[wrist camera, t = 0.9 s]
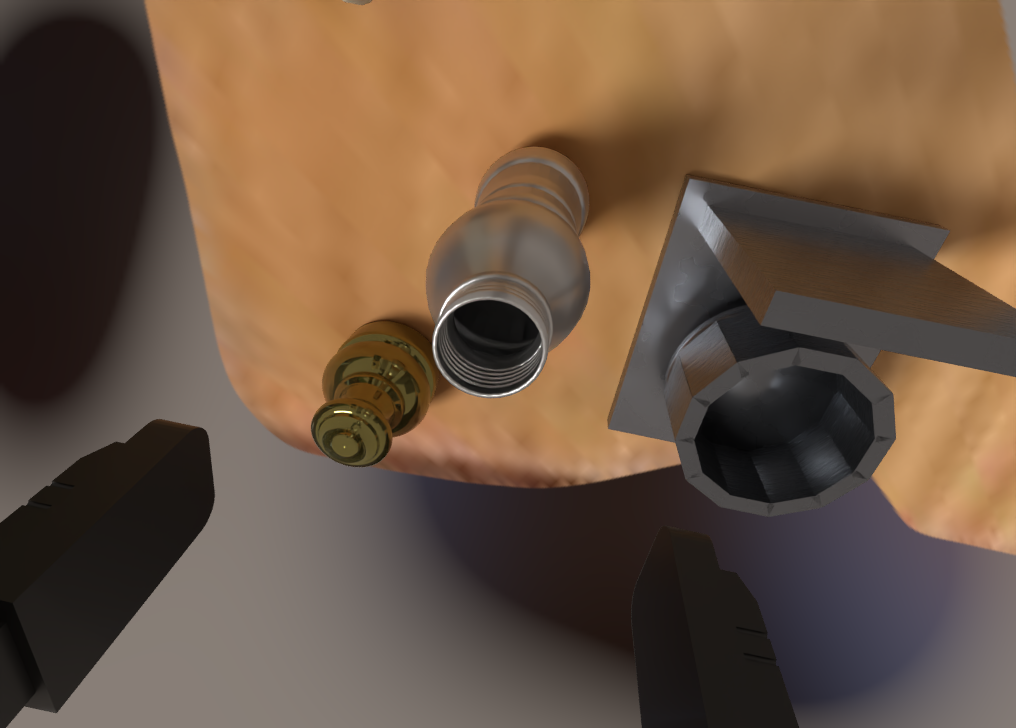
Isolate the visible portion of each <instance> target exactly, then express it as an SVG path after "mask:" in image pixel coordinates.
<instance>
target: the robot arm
mask: <svg viewBox="0 0 1016 728" xmlns="http://www.w3.org/2000/svg"><path fill="white" fill-rule="evenodd" d="M213 483H214V482H213V473H212V464H211V456H210V447H209V438H208V435H207V432H206V431H205V430H204V429H203V428H200V427H195V426H190V425H186V424H181V423H176V422H172V421H167V420H162V419H156V420H153V421H151V422H150V423H148V424H147V425H146V426H145V427H143V428H142V429H141V430H140V431H139V432H137V433H136V434H135V435H134V436H133V437H132V438H130V439H129V440H128V441H127V442H126V443H120V442H114V443H112V444H110V445H108V446H106V447H104V448H102V449H99V450H97V451H95V452H93V453H91V454H89V455H87V456H84V457H82V458H80V459H79V460H78V461H76V462H75V463H74V464H73V465H72V466H70V467H69V468H68V469H67V470H65V471H64V472H63V473H62V474H60V475H59V476H58V477H57V478H55V479H54V480H53V481H52V484H51V486H46V487H44V488H43V489H42V490H40V491H39V492H38V493H37V494H36V495H34V496H33V497H32V498H31V499H30V500H29V502H28V504H27V505H26V506H24V505H22V506H21V507H19V508H18V509H17V510H16V511H14V512H13V513H12V514H11V515H10V516H8V517H7V518H6V519H5V520H3V521H2V522H1V523H0V728H6V727H7V726H8V724H9V723H10V722H11V721H12V720H13V719H14V718H15V716H16V715H17V714H18V713H19V712H20V710H21V709H22V708H23V707H24V706H26V707H30V708H35V709H39V710H44V711H49V712H53V713H57V712H58V711H59V710H60V708H61V707H62V706H63V704H64V703H65V702H66V701H67V699H68V698H69V697H70V696H71V694H72V693H73V692H74V691H75V689H76V688H77V687H78V685H79V684H80V683H81V682H82V680H83V679H84V678H85V677H86V675H87V674H88V673H89V672H90V671H91V669H92V668H93V667H94V665H95V664H96V663H97V662H98V660H99V659H100V658H101V657H102V655H103V654H104V653H105V652H106V650H107V649H108V648H109V647H110V645H111V644H112V643H113V642H114V640H115V639H116V638H117V636H118V635H119V634H120V633H121V631H122V630H123V629H124V628H125V626H126V625H127V624H128V622H129V621H130V620H131V619H132V618H133V616H134V615H135V614H136V612H137V611H138V610H139V609H140V608H141V606H142V605H143V604H144V602H145V601H146V600H147V599H148V597H149V596H150V595H151V594H152V592H153V591H154V590H155V589H156V587H157V586H158V585H159V584H160V582H161V581H162V580H163V578H164V577H165V576H166V575H167V573H168V572H169V571H170V570H171V568H172V567H173V566H174V565H175V563H176V562H177V561H178V560H179V558H180V557H181V556H182V555H183V553H184V552H185V551H186V550H187V548H188V547H189V546H190V544H191V543H192V542H193V541H194V539H195V538H196V537H197V536H198V534H199V533H200V532H201V531H202V529H203V528H204V526H205V525H206V523H207V521H208V519H209V517H210V514H211V512H212V509H213V504H214V498H215V492H214V484H213ZM631 609H632V611H631V620H632V632H633V642H634V652H635V663H636V672H637V681H638V682H637V683H638V693H639V703H640V714H641V724H642V728H799V726H798V723H797V720H796V717H795V714H794V711H793V708H792V705H791V702H790V699H789V696H788V693H787V690H786V687H785V684H784V681H783V678H782V675H781V672H780V669H779V666H776V657H775V654H774V651H773V648H772V645H771V642H770V639H767V630H766V627H765V624H764V621H763V618H762V615H761V612H760V609H759V606H758V603H757V601H756V599H755V598H754V597H753V596H752V594H751V593H750V591H749V590H748V588H747V587H746V586H745V584H744V583H743V582H742V580H741V579H740V577H739V576H738V575H737V573H734V572H730V571H725V570H720V568H719V565H718V561H717V557H716V554H715V551H714V547H713V543H712V541H711V539H710V537H709V536H708V535H706V534H702V533H697V532H693V531H688V530H683V529H678V528H673V527H669V526H662V527H661V528H660V530H659V531H658V533H657V535H656V538H655V540H654V542H653V545H652V547H651V550H650V552H649V554H648V557H647V559H646V561H645V564H644V566H643V569H642V571H641V573H640V575H639V578H638V580H637V583H636V585H635V589H634V593H633V599H632V608H631Z"/></svg>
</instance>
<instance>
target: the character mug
mask: <svg viewBox="0 0 1016 728" xmlns="http://www.w3.org/2000/svg"><path fill="white" fill-rule="evenodd" d="M343 1H344V2H347V3H353V4H358V5H364V4H367V3H370V2H371V1H372V0H343Z"/></svg>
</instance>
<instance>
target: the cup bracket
mask: <svg viewBox="0 0 1016 728" xmlns="http://www.w3.org/2000/svg"><path fill="white" fill-rule="evenodd" d="M949 232H950V230H948V229H946V228H944V227H942V226H940V225H937V224H932V223H927V222H922V221H917V220H912V219H907V218H902V217H897V216H892V215H887V214H882V213H877V212H872V211H867V210H862V209H857V208H852V207H847V206H842V205H837V204H832V203H827V202H822V201H817V200H812V199H807V198H802V197H797V196H792V195H787V194H782V193H777V192H772V191H767V190H762V189H757V188H752V187H747V186H742V185H737V184H732V183H727V182H722V181H717V180H712V179H707V178H702V177H697V176H692V175H687V174H686V176H685V180H684V183H683V186H682V189H681V192H680V195H679V198H678V201H677V204H676V208H675V211H674V214H673V217H672V220H671V223H670V226H669V229H668V232H667V236H666V239H665V242H664V245H663V248H662V251H661V254H660V257H659V260H658V263H657V267H656V270H655V273H654V276H653V279H652V282H651V285H650V288H649V291H648V295H647V298H646V301H645V304H644V307H643V310H642V313H641V316H640V319H639V323H638V326H637V329H636V332H635V335H634V338H633V341H632V344H631V347H630V351H629V354H628V357H627V360H626V363H625V366H624V369H623V372H622V375H621V378H620V382H619V385H618V388H617V391H616V394H615V397H614V400H613V403H612V406H611V410H610V413H609V416H608V419H607V421H608V429H611V430H616V431H621V432H626V433H631V434H636V435H641V436H646V437H651V438H655V439H660V440H665V441H670V442H675V443H676V446H677V450H678V453H679V457H680V461H681V464H682V468H683V471H684V475H685V478H686V480H687V481H688V482H689V483H691V484H692V485H693V486H695V487H696V488H697V489H698V490H699V491H701V492H702V493H703V494H705V495H706V496H707V497H709V498H710V499H711V500H712V501H713V502H715V503H716V504H717V505H718V506H720V507H724V508H729V509H734V510H738V511H743V512H748V513H753V514H758V515H763V516H769V517H770V516H776V515H782V514H788V513H794V512H799V511H805V510H811V509H817V508H821V507H824V506H826V505H827V504H829V503H831V502H832V501H834V500H836V499H838V498H839V497H841V496H843V495H844V494H846V493H848V492H849V491H851V490H853V489H855V488H856V487H858V486H860V485H861V484H863V483H865V482H866V481H868V480H869V479H870V477H871V476H872V474H873V473H874V471H875V470H876V468H877V467H878V465H879V464H880V462H881V461H882V459H883V458H884V456H885V455H886V453H887V452H888V450H889V449H890V447H891V446H892V444H893V443H894V441H895V440H896V431H895V414H894V398H893V393H892V392H891V391H890V390H889V389H888V387H887V386H886V385H885V384H884V383H883V382H882V381H881V380H880V379H879V377H878V376H877V375H876V374H875V373H874V372H873V371H872V370H871V369H870V368H871V366H872V364H873V363H874V361H875V359H876V357H877V356H878V354H879V352H880V351H881V350H885V351H890V352H895V353H900V354H905V355H910V356H915V357H919V358H924V359H929V360H934V361H939V362H944V363H949V364H954V365H959V366H964V367H969V368H974V369H979V370H984V371H989V372H994V373H998V374H1003V375H1008V376H1013V377H1016V309H1015V308H1013V307H1012V306H1010V305H1008V304H1007V303H1005V302H1003V301H1002V300H1000V299H998V298H997V297H995V296H993V295H992V294H990V293H988V292H987V291H985V290H984V289H982V288H980V287H979V286H977V285H975V284H974V283H972V282H970V281H969V280H967V279H965V278H964V277H962V276H960V275H959V274H957V273H955V272H954V271H952V270H950V269H949V268H947V267H945V266H944V265H942V264H940V263H939V262H937V261H936V260H934V258H935V256H936V255H937V253H938V251H939V249H940V248H941V246H942V244H943V243H944V241H945V239H946V237H947V236H948V234H949Z"/></svg>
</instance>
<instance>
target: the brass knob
mask: <svg viewBox="0 0 1016 728" xmlns="http://www.w3.org/2000/svg"><path fill="white" fill-rule="evenodd" d="M439 378H440V370H439V369H438V367H437V365H436V362H435V360H434V356H433V350H432V345H431V344H430V343H429V342H428V340H427V339H426V338H425V337H424V336H422V335H421V334H420V333H419V332H417V331H416V330H414V329H412V328H410V327H408V326H406V325H403V324H400V323H396V322H390V321H378V322H372V323H369V324H366V325H364V326H362V327H360V328H359V329H357V330H356V331H355V332H354V333H353V334H352V335H351V336H350V337H349V339H348V340H347V341H346V342H345V343H344V344H343V345H342V346H341V347H340V348H339V350H338V352H337V354H335V355H334V356H333V357H332V359H331V360H330V361H329V362H328V364H327V366H326V368H325V370H324V373H323V378H322V389H323V395H324V398H325V401H326V403H325V404H323V405H322V406H321V407H320V408H319V409H318V410H317V411H316V413H315V415H314V417H313V419H312V423H311V433H312V437H313V439H314V441H315V443H316V445H317V446H318V448H319V449H320V450H321V451H322V452H323V453H324V454H325V455H326V456H328V457H329V458H330V459H332V460H334V461H335V462H338V463H340V464H343V465H346V466H351V467H368V466H372V465H375V464H377V463H378V462H380V461H381V460H382V459H384V457H385V456H386V455H387V454H388V452H389V450H390V448H391V445H392V437H397V436H401V435H403V434H406V433H408V432H410V431H411V430H413V429H414V428H416V427H417V426H418V425H419V424H420V423H421V422H422V420H423V419H424V417H425V415H426V413H427V411H428V408H429V404H430V402H431V401H432V399H433V396H434V394H435V389H436V387H437V384H438V382H439Z"/></svg>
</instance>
